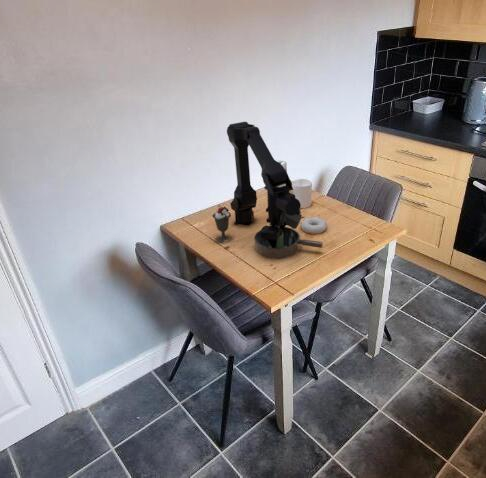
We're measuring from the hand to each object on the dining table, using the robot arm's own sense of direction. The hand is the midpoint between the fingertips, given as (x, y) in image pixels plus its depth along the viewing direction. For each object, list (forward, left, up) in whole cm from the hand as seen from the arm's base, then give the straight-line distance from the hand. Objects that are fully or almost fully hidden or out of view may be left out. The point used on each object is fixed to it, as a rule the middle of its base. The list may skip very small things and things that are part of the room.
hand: (277, 244), depth 153 cm
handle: (+12, 0, +1) cm, 12 cm away
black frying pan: (0, 0, -2) cm, 2 cm away
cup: (-3, +36, -2) cm, 36 cm away
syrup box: (-15, +46, -2) cm, 48 cm away
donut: (+9, +17, -2) cm, 19 cm away
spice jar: (0, 0, -1) cm, 1 cm away
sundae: (-21, 0, -2) cm, 21 cm away
